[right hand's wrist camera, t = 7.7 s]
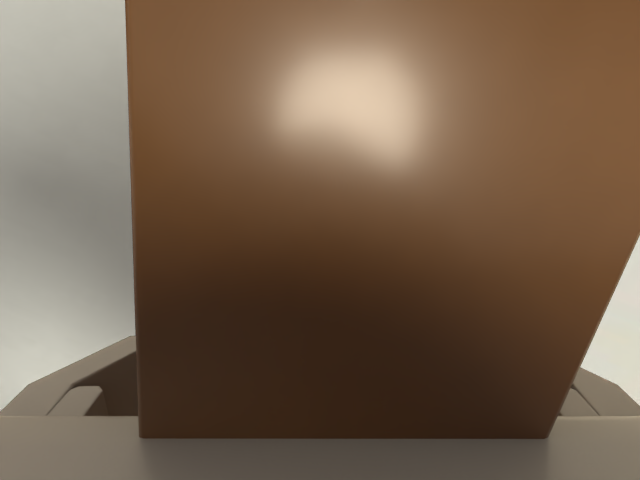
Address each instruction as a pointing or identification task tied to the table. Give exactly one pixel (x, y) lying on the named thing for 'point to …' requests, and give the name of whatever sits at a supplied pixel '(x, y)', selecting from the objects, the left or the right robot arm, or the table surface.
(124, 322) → the table surface
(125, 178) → the table surface
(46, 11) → the table surface
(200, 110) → the bar
